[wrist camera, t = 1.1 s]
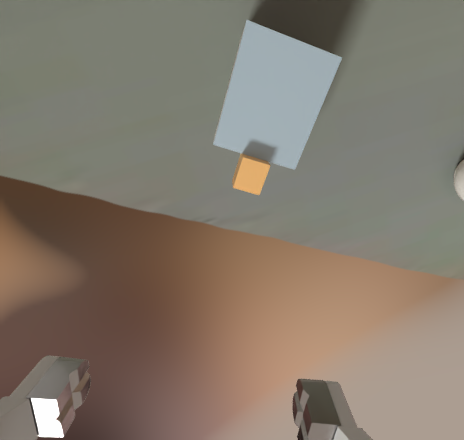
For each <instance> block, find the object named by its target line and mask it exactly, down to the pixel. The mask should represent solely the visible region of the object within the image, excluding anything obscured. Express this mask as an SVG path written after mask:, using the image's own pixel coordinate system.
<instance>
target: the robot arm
mask: <svg viewBox="0 0 464 440" xmlns="http://www.w3.org/2000/svg"><path fill="white" fill-rule="evenodd" d="M88 368H89V363H88V360H82V359H74V358H65V357H55V356H46V357H44V358H43V359H41V361H40V362H39V363H38V364H37V365H36V366H35V368H34V369H33V370H32V371H31V372H30V373H29V374H28V376H27V377H26V378H25V379H24V380H23V381H22V383H21V384H20V385H19V386H18V387H17V388H16V389H15V391H14V392H13V393H12V394H11V395H10V396H9V397H4V398H2V399H0V440H36V439H37V438H38V436H49V437H64V435H65V433H66V432H67V430H68V428H69V426H70V425H71V423H72V421H73V419H74V417H75V411H74V410H75V409H76V408H78V407H79V406H80V405H82V404H83V402H84V400H85V398H86V396H87V394H88V391H89V388H90V382H91V379H90V375H89V374H88V373H87V372H86V371H87V370H88ZM296 387H297V392H296V393H295V394H294V396H293V417H294V422H295V424H296V425H297V426H298V428H299V432H298V435H297V438H298V440H373V439H372V438H371V437H370V436H369V435H368V434H367V433H366V432H365V431H364V430H363V429H362V428H357V425H356V423H355V420H354V418H353V415H352V413H351V410H350V408H349V406H348V403H347V401H346V398H345V396H344V393H343V391H342V388H341V386H340V384H339V383H338V382H332V381H323V380H310V379H298V380H297V384H296Z"/></svg>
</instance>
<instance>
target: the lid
mask: <svg viewBox="0 0 464 440" xmlns="http://www.w3.org/2000/svg"><path fill="white" fill-rule="evenodd" d="M341 59H342V57H339V56H337V55H334V54H332V53H329V52H327V51H324V50H322V49H319V48H317V47H314V46H312V45H309V44H307V43H304V42H302V41H299V40H296V39H294V38H291V37H289V36H286V35H284V34H281V33H279V32H276V31H274V30H271V29H269V28H266V27H264V26H261V25H259V24H256V23H254V22H251V21H249V20H247V21H246V24H245V28H244V32H243V35H242V39H241V43H240V46H239V50H238V54H237V58H236V61H235V65H234V69H233V72H232V76H231V80H230V84H229V87H228V91H227V95H226V98H225V102H224V106H223V110H222V113H221V117H220V121H219V124H218V128H217V132H216V136H215V139H214V143H213V145H216V146H219V147H222V148H226V149H229V150H232V151H235V152H239V153H241V155H240V158H239V161H238V164H237V167H236V170H235V174H234V177H233V180H232V182H233V188H236V189H239V190H243V191H246V192H250V193H253V194H257V195H260V192H261V189H262V187H263V184H264V181H265V179H266V176H267V173H268V171H269V168H270V164H269V162H271V163H274V164H278V165H281V166H284V167H287V168H291V169H294V170H295V168H296V166H297V163H298V161H299V158H300V156H301V154H302V151H303V149H304V147H305V144H306V142H307V140H308V137H309V135H310V133H311V130H312V128H313V125H314V123H315V121H316V118H317V116H318V114H319V111H320V109H321V107H322V104H323V102H324V99H325V97H326V95H327V92H328V90H329V88H330V85H331V83H332V81H333V78H334V76H335V74H336V71H337V69H338V66H339V64H340V62H341Z"/></svg>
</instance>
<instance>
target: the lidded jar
mask: <svg viewBox="0 0 464 440" xmlns="http://www.w3.org/2000/svg"><path fill="white" fill-rule="evenodd" d="M454 187H455V190H456V192H457V194H458V195H459V197H460V198H461V199H462V200H463V201H464V159H463V160H462V161H461V162H460V163H459V165H458V166H457V168H456V170H455V172H454Z"/></svg>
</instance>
